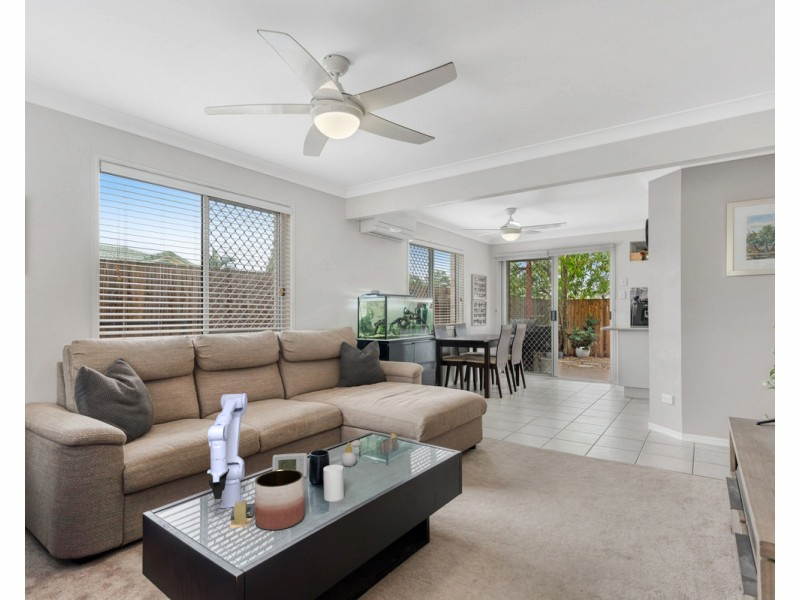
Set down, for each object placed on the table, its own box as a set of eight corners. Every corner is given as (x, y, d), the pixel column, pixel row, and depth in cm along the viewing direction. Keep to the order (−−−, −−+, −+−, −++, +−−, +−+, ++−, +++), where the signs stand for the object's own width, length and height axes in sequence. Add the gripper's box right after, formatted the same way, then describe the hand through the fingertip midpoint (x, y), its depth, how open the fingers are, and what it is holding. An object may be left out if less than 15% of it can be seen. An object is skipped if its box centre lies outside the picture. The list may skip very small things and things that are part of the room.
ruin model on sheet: (393, 449, 243) (393, 432, 243) (397, 450, 241) (397, 433, 241) (379, 455, 234) (379, 437, 234) (384, 456, 232) (383, 438, 233)
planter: (306, 527, 158) (305, 482, 158) (254, 535, 153) (253, 490, 153) (302, 506, 175) (301, 466, 175) (255, 513, 170) (255, 472, 170)
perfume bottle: (338, 465, 219) (337, 441, 219) (353, 460, 226) (352, 437, 226) (348, 469, 214) (347, 444, 214) (363, 464, 221) (362, 440, 221)
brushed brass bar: (235, 520, 163) (235, 501, 163) (247, 519, 164) (246, 500, 164) (234, 525, 159) (233, 506, 159) (245, 524, 160) (245, 504, 160)
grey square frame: (234, 510, 173) (234, 505, 173) (255, 507, 175) (255, 503, 175) (230, 521, 164) (230, 516, 164) (253, 518, 166) (253, 513, 166)
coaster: (231, 522, 163) (231, 520, 163) (251, 519, 165) (251, 517, 165) (229, 528, 158) (229, 526, 158) (249, 525, 160) (249, 524, 160)
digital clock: (269, 481, 202) (269, 457, 202) (277, 473, 211) (276, 451, 211) (304, 481, 200) (303, 457, 201) (310, 474, 209) (309, 451, 210)
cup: (336, 491, 188) (335, 463, 188) (347, 496, 182) (347, 467, 183) (320, 497, 182) (319, 468, 183) (331, 503, 177) (331, 473, 177)
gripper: (210, 452, 169) (211, 488, 169) (203, 465, 155) (204, 504, 155) (230, 450, 171) (230, 485, 171) (224, 463, 157) (225, 501, 157)
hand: (219, 494), depth 163 cm, fingers open, 7 cm apart
